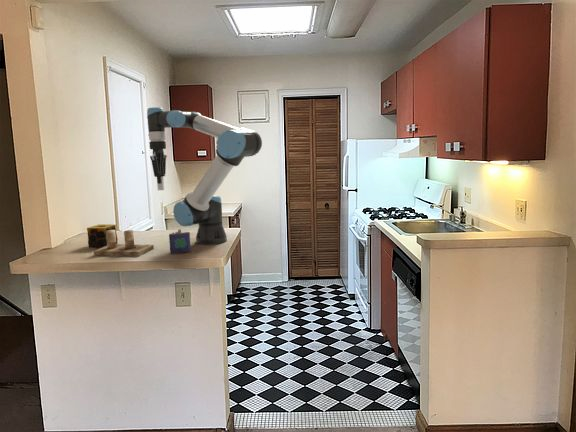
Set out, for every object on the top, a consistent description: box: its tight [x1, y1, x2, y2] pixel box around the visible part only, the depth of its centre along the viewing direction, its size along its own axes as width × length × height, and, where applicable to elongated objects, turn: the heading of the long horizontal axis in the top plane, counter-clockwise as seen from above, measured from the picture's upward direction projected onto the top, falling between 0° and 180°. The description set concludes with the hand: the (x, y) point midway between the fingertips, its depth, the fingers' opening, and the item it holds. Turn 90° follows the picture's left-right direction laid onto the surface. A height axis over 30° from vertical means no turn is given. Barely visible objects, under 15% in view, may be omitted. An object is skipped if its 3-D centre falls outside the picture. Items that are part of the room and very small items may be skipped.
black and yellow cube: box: [86, 223, 119, 249], centre depth 229 cm, size 10×10×10 cm
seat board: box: [93, 230, 155, 257], centre depth 214 cm, size 22×14×10 cm, turn 80°
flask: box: [168, 228, 192, 255], centre depth 210 cm, size 9×3×11 cm, turn 113°
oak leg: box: [123, 229, 135, 249], centre depth 214 cm, size 4×4×10 cm
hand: (161, 190), depth 227 cm, fingers closed
